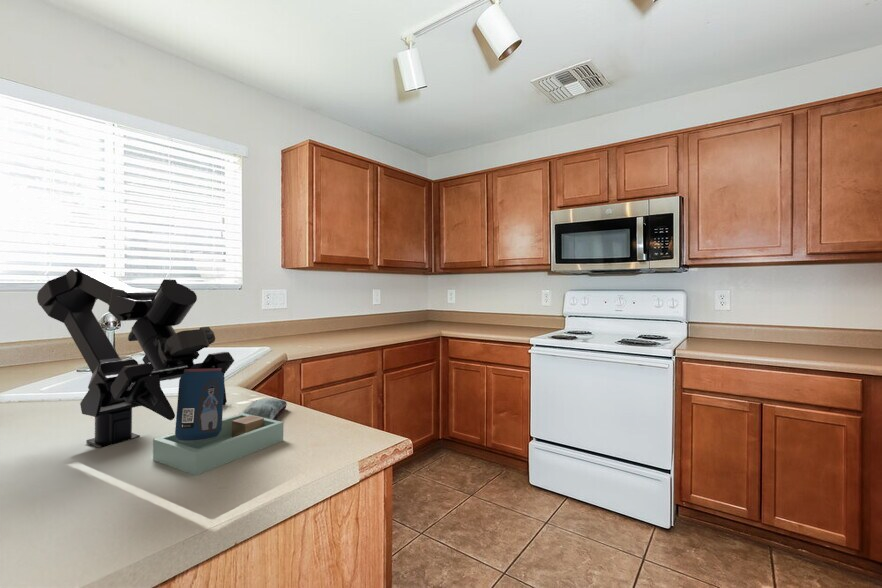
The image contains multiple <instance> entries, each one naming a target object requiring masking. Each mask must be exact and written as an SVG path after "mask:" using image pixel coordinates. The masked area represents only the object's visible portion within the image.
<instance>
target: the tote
mask: <svg viewBox="0 0 882 588" xmlns="http://www.w3.org/2000/svg"><path fill="white" fill-rule="evenodd" d="M246 416H249V414H245V413H242V414H239V413H238V414H235V415H231V416H228V417H225V418H222V429H221V431H220V433H219V434H218V436H217V437H216V438H215V439H212V440H207V441H201V442H180V441H179V440H178V438H177V437H176V435H175V432H174V433H171V434H167V435H163V436H159V437H156V438H153V439H152V440H153V442H152V461H155V462H156V463H160V464H163V465H165V466H168V467H171V468H175V469H177V470H180V471H182V472H186V473H188V474H191V475H194V476H198V475H200V474H202V473H205V472H208V471H210V470H212V469H215V468H217V467H220V466H222V465H224V464H227V463H230V462H232V461H235V460H238V459H240V458H243V457H246V456H248V455H250V454H252V453H255V452H257V451H260V450H262V449H265V448H268V447H271V446H273V445H275V444H277V443H280V442H282V441H284V421H280V420H277V419H276V420H272V419H267V418H264V427H262V428H259V429H256V430H253V431H250V432H247V433H244V434H241V435H239V436H236V437H233V438H232V421H233V420H236V419H239V418H243V417H246ZM251 416H254V415H251ZM256 417H258V416H256ZM260 418H263V417H260Z"/></svg>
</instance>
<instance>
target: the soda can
mask: <svg viewBox="0 0 882 588" xmlns="http://www.w3.org/2000/svg"><path fill="white" fill-rule="evenodd" d="M224 384H225V375H224V376H223V374H222V372H221V368H206V369H184V373H183V375H182V376H181V378H179V381H178V391H177V392H178V394H177V407H176V415H175V419H176V420H175V427H174V428H175V429H174V433H175V435H176V437H177V438H178V440H179V441H180V442H201V441H207V440H212V439H215V438H216V437H217V436H218V434H219V433H220V431H221V429H222V419H223V413H224V411H223V410H224V409H223V408H224V405H223V397H224Z"/></svg>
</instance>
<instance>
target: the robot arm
mask: <svg viewBox="0 0 882 588" xmlns="http://www.w3.org/2000/svg"><path fill="white" fill-rule="evenodd" d="M197 297H198V296H197V293H196V292H195V291H193V290H191V289H190V288H189V287H187V286H185V285H184V284H180V283H178V282H177V280H176V279H165V278H164V279H163V280H162V282H161V283H160V285H159V288H158V289H157V290H154V289H150V288H143V287H134V286H133V287H132V286H130V285H127V284H125V283H123V282H122V281H120V280H117V279H116V278H113V277H111V276H109V275H107V274H105V273H104V272H103V270H99V269H94V268H78V267H77V268H74V269H70V270H68V272H66V274H63V275H61V276H58V277H55V278H53V279H51V280H48V281H47V282H46V283H44V285H43V286H42V287H41V288H40V289H39V290H38V291H37V295H36V298H37V303H38V305H39V306H40V308H42V310H43V311H44V312H45V313H46V315H47V316H48V317H49V318H51V319H54V320H56V321H58V322H60V323H63V324H64V326H65V327H66V329H67V331H68V333H69V335H70V336H71V338H72V340H73V342H74V343H75V345H76V347H77V348H78V350H79V352H80V353H81V356H82V357H83V359H84V360H85V363H86V364H87V366H88V369H89V370H90V372H91V377H90V379H89V380H90V381H89V382H88V386H87V388H88V391H87V392H86V394H85V396H84V397H83V398H82V400H81V401H80V403H79V405H80V410H81V414H82V415H84V416H90V417H94V438H89V439H87V440H86V444H88V445H91V446H94V447H96V448H99V449H102V448H106V447H109V446H113V445H116V444H120V443H124V442H128V441H131V440H134V439H139V438H141V435H140V434H136V433H134V432H133V408H138V407H144V408H146V409H148V410H150V411H152V412H154V413H156V414H158V415H160V416H161V417H163V418H165V419H167V420H169V421H173V420H174V419H175V418H176V413H175V411H174V409H173V407H172V405H171V403H170V402H169V400H168V399H167V397H166V395H165V393H164V392H163V390H162V388H161V382H162V381H167V380H168V381H171V380H176V379H180V378H181V376H182V375H183V373H184V369H206V368H221V372H222V374H223V376H224V377H225V374H226V373H227V372H228V370H229V368H230V367H231V366H232V365H233V363H234V362H235V359H234V358H233V356H232V355H231V353H230V352H229V351H221V352H214V353H209V354H207V356H206V357H205V359H204V360H203V361H202V362H198V363H195V362H194V360H197V359H198V358H199V356H200V353H199V351H201V350H203V349H205V348H208V347H210V345H212V344H213V343H215V341H216V335H215V333H214V331H213V330H212V329H211V328H210V326H202V327H199V329H186V330H182V331H178V332H176V330H175V329H174V328H173V327H175V326H178V325H180V324H181V323H182V322H183V320H185V318H186V316H187V315H188V314H189V312H190V311H191V309H192V308H193V306H194V305H195V303H196V302H197V300H198V298H197ZM98 300H99V301H101V302H103V303H105V304H107V305H108V312H109V313H110V314H111V315H112V316H113V317H114V318H115V319H117V320H118V321H120V322H123V321H124V322H125V321H135V322H134V323H133V325H132V327H131V330H130V332H129V334H128V337H127V340H128V341H129V342H135V341H137V342H138V344H139V345H140V348H141V349H142V351H143V353H144V356H143V357H142V362H143V363H139V362H138V361H137V360H136V359H134V358H131V359H130V358H129V359H124V360H123V359H122V358H121V356H120V355H119V353H118V352H117V350H116V349H115V347H114V346H113V344H112V342H111V341H110V339H109V337H108V335H107V334H106V332H105V331H104V328H103V327H102V326H101V323H100V322H99V320H98V319H97V317H96V316H95V314H94V312H93V309H94V306H95V304H96V302H97V301H98ZM227 401H228V399H227V393H226V385H225V383H224V397H223V406H225V405H226V404H227Z"/></svg>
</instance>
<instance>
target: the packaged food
mask: <svg viewBox="0 0 882 588" xmlns="http://www.w3.org/2000/svg"><path fill="white" fill-rule="evenodd" d="M287 405H288V403H287V401H286V400H282V399H278V398H262V399H258V400H254V401H252V402H251V403H250V404H249V405H248V406H246V407H245V408H244V409H243V410H242V411H241V412H239V413H238V414H242V413H245V414H249V415H254V416H258V417H263V418H267V419H272V420H276V421H277V419H278V417H279V416H280V415H282V414H283V413H284V412H285V411H286V408H287Z"/></svg>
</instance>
